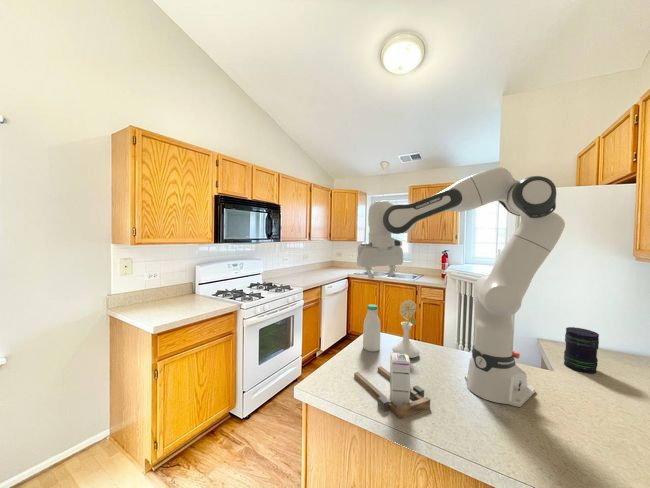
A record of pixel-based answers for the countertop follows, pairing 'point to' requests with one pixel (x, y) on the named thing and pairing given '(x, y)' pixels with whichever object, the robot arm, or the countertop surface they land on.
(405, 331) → the flower in vase
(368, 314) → the milk bottle
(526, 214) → the robot arm
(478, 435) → the countertop surface
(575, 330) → the storage jar
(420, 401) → the beam slot
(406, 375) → the syrup box
